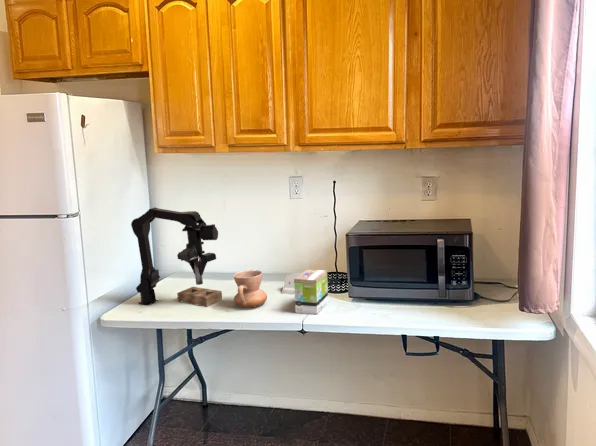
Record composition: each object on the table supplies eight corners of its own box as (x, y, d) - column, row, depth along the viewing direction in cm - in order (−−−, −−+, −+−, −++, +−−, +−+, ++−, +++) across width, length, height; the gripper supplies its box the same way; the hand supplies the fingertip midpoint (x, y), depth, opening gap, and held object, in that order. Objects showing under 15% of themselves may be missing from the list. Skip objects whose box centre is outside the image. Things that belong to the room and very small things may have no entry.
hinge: (281, 293, 250) (283, 271, 251) (285, 293, 254) (287, 272, 256) (315, 295, 243) (316, 273, 245) (319, 296, 248) (320, 274, 249)
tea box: (318, 314, 219) (316, 279, 217) (295, 313, 223) (292, 278, 220) (329, 302, 233) (327, 269, 230) (307, 301, 237) (304, 268, 234)
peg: (194, 284, 241) (192, 262, 239) (199, 282, 243) (197, 260, 241) (199, 285, 239) (197, 263, 237) (204, 283, 241) (201, 261, 240)
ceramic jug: (245, 297, 248) (242, 267, 245) (274, 299, 242) (271, 268, 239) (225, 311, 231) (222, 279, 229) (255, 313, 226) (252, 281, 223)
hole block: (178, 301, 249) (177, 292, 248) (193, 294, 257) (192, 286, 256) (207, 306, 239) (206, 297, 238) (222, 299, 247) (221, 291, 246)
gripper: (166, 243, 237) (170, 277, 239) (196, 246, 226) (200, 282, 229) (185, 237, 245) (189, 271, 248) (215, 240, 235) (218, 275, 237)
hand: (198, 274), depth 240 cm, fingers closed on peg, 3 cm apart
